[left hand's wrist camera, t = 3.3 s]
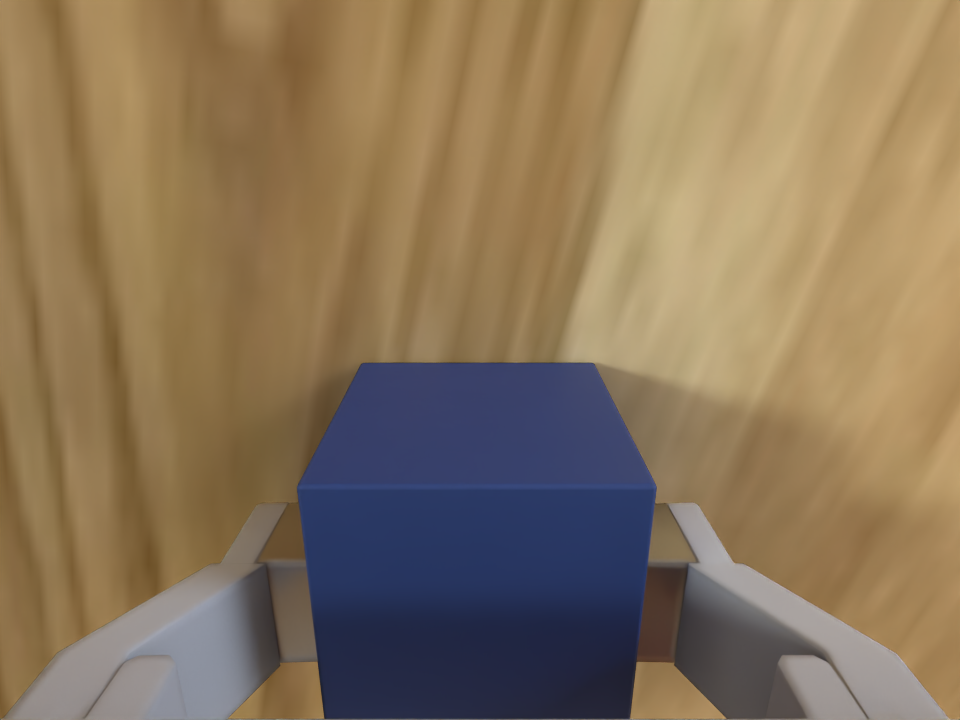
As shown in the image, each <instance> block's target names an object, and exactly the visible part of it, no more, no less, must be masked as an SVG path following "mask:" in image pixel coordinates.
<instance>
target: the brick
mask: <svg viewBox="0 0 960 720" xmlns="http://www.w3.org/2000/svg"><path fill="white" fill-rule="evenodd" d="M656 489H657V487H656V484H655V482H654V480H653V478H652V476H651V474H650V472H649V470H648V469H647V467H646V465H645V463H644V461H643V459H642V457H641V455H640V453H639V451H638V449H637V447H636V445H635V443H634V441H633V439H632V437H631V435H630V433H629V431H628V429H627V427H626V425H625V423H624V421H623V419H622V418H621V416H620V414H619V412H618V410H617V408H616V406H615V404H614V402H613V400H612V398H611V396H610V394H609V392H608V390H607V388H606V386H605V384H604V382H603V380H602V378H601V376H600V374H599V372H598V370H597V369H596V367H595V365H594V364H593V363H362V364H361V365H360V367H359V369H358V371H357V373H356V375H355V377H354V379H353V381H352V382H351V384H350V386H349V388H348V390H347V392H346V394H345V396H344V398H343V400H342V402H341V403H340V405H339V407H338V409H337V411H336V413H335V415H334V417H333V419H332V421H331V423H330V424H329V426H328V428H327V430H326V432H325V434H324V436H323V438H322V440H321V442H320V444H319V445H318V447H317V449H316V451H315V453H314V455H313V457H312V459H311V461H310V463H309V465H308V466H307V468H306V470H305V472H304V474H303V476H302V478H301V480H300V482H299V484H298V486H297V492H298V500H299V509H300V517H301V526H302V534H303V542H304V551H305V559H306V568H307V576H308V584H309V593H310V601H311V610H312V618H313V627H314V635H315V643H316V652H317V660H318V669H319V677H320V685H321V694H322V702H323V711H324V719H630V714H631V706H632V697H633V688H634V680H635V671H636V662H637V654H638V645H639V636H640V628H641V619H642V610H643V601H644V593H645V584H646V575H647V567H648V558H649V549H650V541H651V532H652V523H653V515H654V506H655V497H656Z"/></svg>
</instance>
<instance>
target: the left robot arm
mask: <svg viewBox="0 0 960 720" xmlns="http://www.w3.org/2000/svg"><path fill="white" fill-rule="evenodd" d="M316 661H318V660H317V652H316V643H315V635H314V627H313V618H312V610H311V601H310V593H309V584H308V576H307V568H306V559H305V551H304V542H303V534H302V526H301V517H300V509H299V503H291V504H290V503H260V504H258V505H256V506H255V508H254V509H253V511H252V513H251V514H250V516H249V518H248V519H247V521H246V522H245V524H244V526H243V527H242V529H241V531H240V532H239V534H238V535H237V537H236V539H235V540H234V542H233V543H232V545H231V547H230V548H229V550H228V552H227V553H226V555H225V556H224V558H223V560H222V561H221V563H215V564H209V565H207V566H206V567H204V568H202V569H201V570H199V571H197V572H195V573H194V574H192V575H190V576H189V577H187V578H185V579H183V580H182V581H180V582H178V583H176V584H175V585H173V586H171V587H170V588H168V589H166V590H164V591H163V592H161V593H159V594H157V595H156V596H154V597H152V598H151V599H149V600H147V601H145V602H144V603H142V604H140V605H139V606H137V607H135V608H133V609H132V610H130V611H128V612H126V613H125V614H123V615H121V616H120V617H118V618H116V619H114V620H113V621H111V622H109V623H107V624H106V625H104V626H102V627H101V628H99V629H97V630H95V631H94V632H92V633H90V634H89V635H87V636H85V637H83V638H82V639H80V640H78V641H76V642H75V643H73V644H71V645H70V646H68V647H66V648H64V649H63V650H61V651H59V652H58V653H57V654H56V655H55V656H54V657H53V659H52V660H51V661H50V662H49V663H48V665H47V666H46V667H45V668H44V669H43V671H42V672H41V673H40V674H39V675H38V677H37V678H36V679H35V680H34V682H33V683H32V684H31V685H30V686H29V688H28V689H27V690H26V691H25V692H24V694H23V695H22V696H21V697H20V698H19V700H18V701H17V702H16V703H15V704H14V706H13V707H12V708H11V709H10V710H9V712H8V713H7V714H6V715H5V717H4V718H3V719H0V720H960V719H949V718H948V717H947V715H946V714H945V713H944V712H943V710H942V709H941V708H940V707H939V705H938V704H937V703H936V702H935V701H934V699H933V698H932V697H931V696H930V694H929V693H928V692H927V691H926V689H925V688H924V687H923V686H922V684H921V683H920V682H919V681H918V679H917V678H916V677H915V676H914V675H913V673H912V672H911V671H910V670H909V668H908V667H907V666H906V665H905V663H904V662H903V661H902V660H901V658H900V657H899V656H898V655H897V654H896V653H895V652H893V651H891V650H890V649H888V648H886V647H885V646H883V645H881V644H879V643H878V642H876V641H874V640H873V639H871V638H869V637H868V636H866V635H864V634H862V633H861V632H859V631H857V630H856V629H854V628H852V627H851V626H849V625H847V624H845V623H844V622H842V621H840V620H839V619H837V618H835V617H834V616H832V615H830V614H828V613H827V612H825V611H823V610H822V609H820V608H818V607H816V606H815V605H813V604H811V603H810V602H808V601H806V600H805V599H803V598H801V597H799V596H798V595H796V594H794V593H793V592H791V591H789V590H788V589H786V588H784V587H782V586H781V585H779V584H777V583H776V582H774V581H772V580H771V579H769V578H767V577H765V576H764V575H762V574H760V573H759V572H757V571H755V570H753V569H752V568H750V567H748V566H747V565H745V564H740V563H733V561H732V559H731V558H730V556H729V554H728V553H727V551H726V549H725V548H724V546H723V545H722V543H721V541H720V540H719V538H718V536H717V535H716V533H715V531H714V530H713V528H712V527H711V525H710V523H709V522H708V520H707V518H706V517H705V515H704V513H703V512H702V510H701V509H700V507H699V505H697V504H696V503H694V502H685V503H664V504H655V506H654V515H653V523H652V532H651V541H650V549H649V558H648V567H647V575H646V584H645V593H644V601H643V610H642V619H641V628H640V636H639V645H638V654H637V662H673V663H674V665H675V666H676V667H677V668H678V670H679V671H680V672H681V673H682V674H683V675H684V676H685V677H686V678H687V679H688V680H689V681H690V682H691V683H692V684H693V685H694V686H695V687H696V688H697V689H698V690H699V691H700V692H701V693H702V694H703V695H704V696H705V697H706V698H707V699H708V700H709V701H710V702H711V703H712V704H713V705H714V706H715V707H716V708H717V709H718V710H719V711H720V712H721V713H722V714H723V715H724V716H725V717H726V718H727V719H227V718H228V717H229V716H230V715H231V714H232V713H233V712H234V711H235V710H236V709H237V708H238V707H239V706H240V705H241V704H242V703H243V702H244V701H245V700H246V699H247V698H248V697H249V696H250V695H251V694H252V693H253V692H254V691H255V690H256V689H257V688H258V687H259V686H260V685H261V684H262V683H263V682H264V681H265V680H266V679H267V678H268V677H269V676H270V675H271V674H272V673H273V672H274V671H275V670H276V669H277V668H278V667H279V666H280V663H282V662H316Z"/></svg>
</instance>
